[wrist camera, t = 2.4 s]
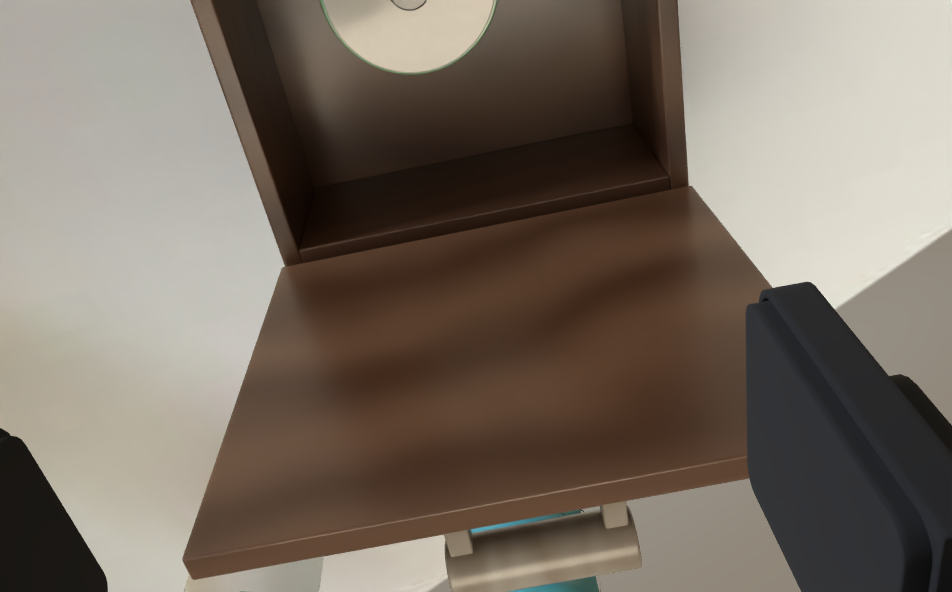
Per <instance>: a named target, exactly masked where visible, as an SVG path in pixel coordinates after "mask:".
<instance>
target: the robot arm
mask: <svg viewBox="0 0 952 592" xmlns="http://www.w3.org/2000/svg"><path fill="white" fill-rule="evenodd" d="M745 317H746V398H747V465H748V473H749V478H750V482H751V485H752V489H753V491H754V493H755V496H756V498H757V500H758V502H759V504H760V506H761V508H762V510H763V512H764V515H765V517H766V519H767V521H768V523H769V525H770V527H771V529H772V531H773V533H774V535H775V537H776V540H777V542H778V544H779V546H780V548H781V550H782V552H783V554H784V556H785V558H786V560H787V563H788V565H789V567H790V569H791V571H792V573H793V575H794V577H795V579H796V581H797V584H798V586H799V588H800V590H801V592H952V425H951V424H950V423H949V422H948V421H947V419H946V418H945V417H944V416H943V415H942V414H941V412H940V411H939V410H938V409H937V408H936V407H935V405H934V404H933V403H932V402H931V401H930V400H929V399H928V397H927V396H926V395H925V394H924V393H923V391H922V390H921V389H920V388H919V387H918V385H916V384H915V383H914V382H913V381H912V380H911V379H910V378H909V377H906V376H903V375H901V374H899V375H893V376H888V375H887V373H886V372H885V371H884V370H883V368H882V367H881V366H880V365H879V364H878V362H877V361H876V360H875V359H874V357H873V356H872V355H871V354H870V353H869V351H868V350H867V349H866V348H865V346H864V345H863V344H862V343H861V342H860V340H859V339H858V338H857V337H856V335H855V334H854V333H853V332H852V330H851V329H850V328H849V327H848V326H847V324H846V323H845V322H844V321H843V319H842V318H841V317H840V316H839V315H838V313H837V312H836V311H835V310H834V308H833V307H832V306H831V305H830V303H829V302H828V301H827V300H826V299H825V297H824V296H823V295H822V294H821V292H820V291H819V290H818V289H817V288H816V286H815V285H813V284H812V283H811V282H803V283H798V284H792V285H787V286H781V287H776V288H770V289H764V290H763V291H762V292H761V294H760V297H759V302H758V303H753V304H749V305H747V308H746V316H745ZM0 592H108V587H107V580H106V576H105V574H104V572H103V570H102V569H101V567H100V565H99V564H98V562H97V561H96V559H95V557H94V556H93V554H92V552H91V551H90V549H89V548H88V546H87V544H86V543H85V541H84V539H83V538H82V536H81V534H80V533H79V531H78V530H77V528H76V526H75V525H74V523H73V521H72V520H71V518H70V517H69V515H68V513H67V512H66V510H65V508H64V507H63V505H62V503H61V502H60V500H59V499H58V497H57V495H56V494H55V492H54V490H53V489H52V487H51V485H50V484H49V482H48V481H47V479H46V477H45V476H44V474H43V472H42V471H41V469H40V468H39V466H38V464H37V463H36V461H35V459H34V458H33V456H32V454H31V453H30V451H29V450H28V448H27V446H26V445H25V443H24V442H23V441H22V440H21V439H20V438H18V437H15V436H10V434H9V433H8V432H6V431H5V430H3V429H1V428H0Z"/></svg>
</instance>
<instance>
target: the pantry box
mask: <svg viewBox="0 0 952 592" xmlns="http://www.w3.org/2000/svg"><path fill="white" fill-rule="evenodd" d="M190 1H191V4H192V6H193V9H194V12H195V15H196V18H197V20H198V23H199V26H200V29H201V32H202V34H203V37H204V40H205V43H206V46H207V49H208V51H209V54H210V57H211V60H212V63H213V65H214V68H215V71H216V74H217V77H218V79H219V82H220V85H221V88H222V91H223V93H224V96H225V99H226V102H227V105H228V107H229V110H230V113H231V116H232V119H233V121H234V124H235V127H236V130H237V133H238V135H239V138H240V141H241V144H242V147H243V149H244V152H245V155H246V158H247V161H248V163H249V166H250V169H251V172H252V175H253V178H254V180H255V183H256V186H257V189H258V192H259V194H260V197H261V200H262V203H263V206H264V208H265V211H266V214H267V217H268V220H269V222H270V225H271V228H272V231H273V234H274V236H275V239H276V242H277V245H278V248H279V250H280V253H281V256H282V259H283V262H284V264H285V267H287V266H292V265H297V264H302V263H307V262H312V261H317V260H322V259H327V258H332V257H337V256H342V255H347V254H352V253H357V252H362V251H367V250H372V249H377V248H382V247H387V246H392V245H397V244H402V243H407V242H412V241H417V240H422V239H427V238H432V237H437V236H442V235H447V234H452V233H457V232H462V231H467V230H472V229H477V228H482V227H487V226H492V225H497V224H502V223H507V222H512V221H517V220H522V219H527V218H532V217H537V216H542V215H547V214H552V213H557V212H562V211H567V210H572V209H577V208H582V207H587V206H592V205H597V204H602V203H607V202H612V201H617V200H622V199H627V198H632V197H637V196H642V195H647V194H652V193H657V192H662V191H667V190H672V189H677V188H682V187H687V186H689V184H688V167H687V151H686V134H685V118H684V102H683V85H682V69H681V52H680V36H679V19H678V3H677V0H498V3H497V7H496V10H495V14H494V16H493V19H492V21H491V23H490V26H489V27H488V29H487V31H486V33H485V34H484V36H483V37H482V39H481V40H480V41H479V42H478V44H477V45H476V46H475V47H474V48H473V49H472V50H471V51H470V52H469V53H468V54H467V55H465V56H464V57H463V58H462V59H460V60H459V61H457V62H455V63H454V64H452V65H450V66H448V67H446V68H443V69H441V70H438V71H435V72H431V73H426V74H419V75H403V74H395V73H391V72H387V71H383V70H381V69H378V68H376V67H373V66H371V65H370V64H368V63H366V62H364V61H362V60H361V59H360V58H358V57H357V56H355V55H354V54H353V53H352V52H351V51H350V50H348V49H347V48H346V47H345V46H344V45H343V43H342V42H341V41H340V40H339V39H338V38H337V36H336V35H335V33H334V32H333V30H332V29H331V27H330V26H329V23H328V21H327V19H326V17H325V15H324V13H323V10H322V7H321V4H320V0H190Z"/></svg>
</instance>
